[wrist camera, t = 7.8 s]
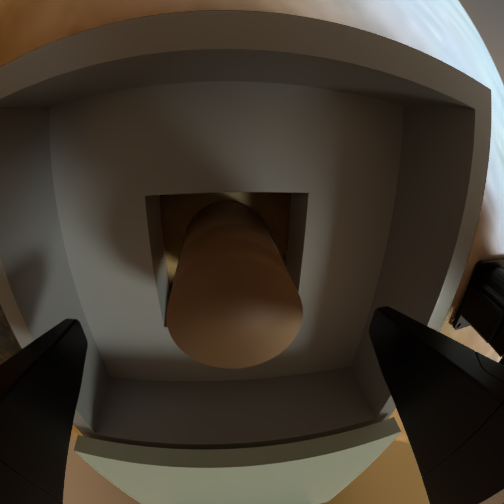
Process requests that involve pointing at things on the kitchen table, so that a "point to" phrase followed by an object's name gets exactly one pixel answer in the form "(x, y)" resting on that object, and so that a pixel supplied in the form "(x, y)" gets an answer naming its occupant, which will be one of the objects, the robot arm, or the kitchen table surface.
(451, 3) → the kitchen table surface
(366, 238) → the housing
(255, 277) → the peg
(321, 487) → the lid
